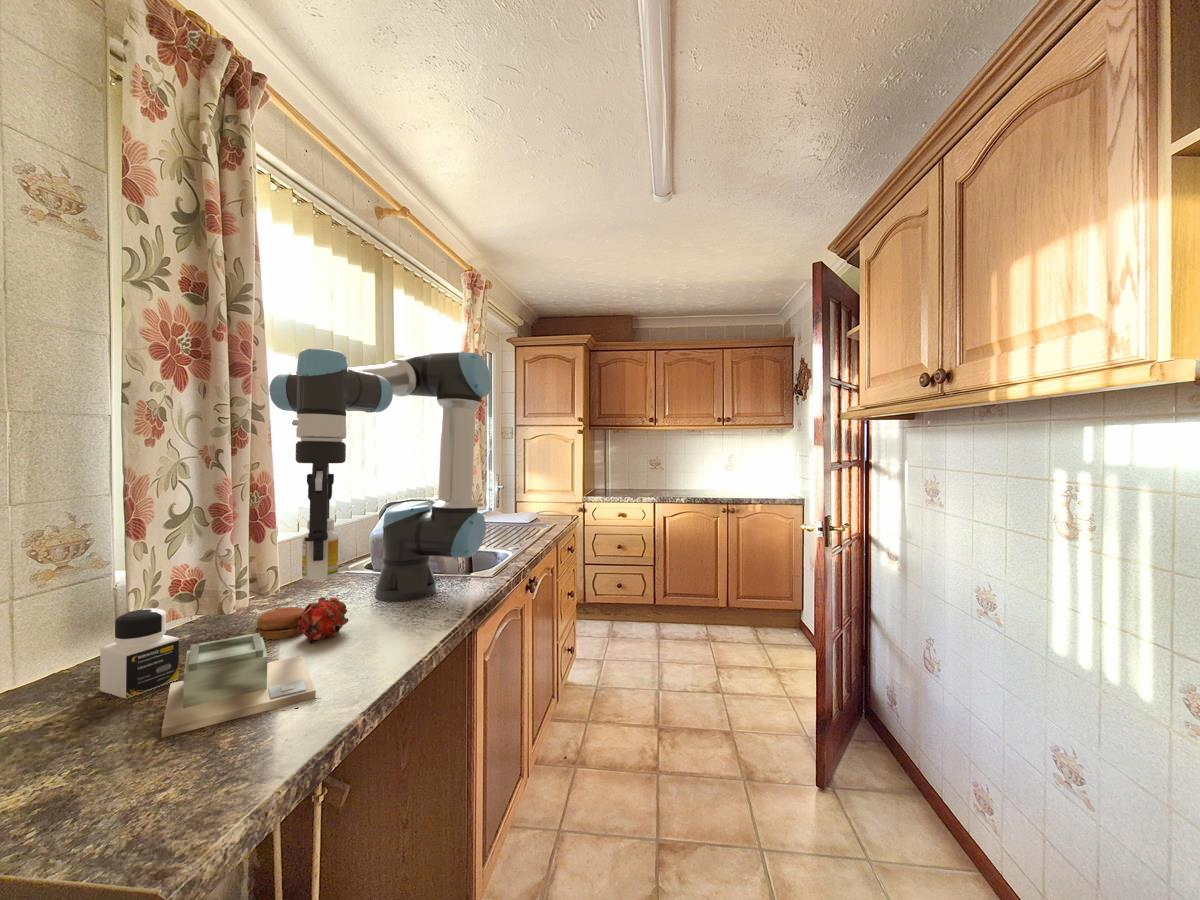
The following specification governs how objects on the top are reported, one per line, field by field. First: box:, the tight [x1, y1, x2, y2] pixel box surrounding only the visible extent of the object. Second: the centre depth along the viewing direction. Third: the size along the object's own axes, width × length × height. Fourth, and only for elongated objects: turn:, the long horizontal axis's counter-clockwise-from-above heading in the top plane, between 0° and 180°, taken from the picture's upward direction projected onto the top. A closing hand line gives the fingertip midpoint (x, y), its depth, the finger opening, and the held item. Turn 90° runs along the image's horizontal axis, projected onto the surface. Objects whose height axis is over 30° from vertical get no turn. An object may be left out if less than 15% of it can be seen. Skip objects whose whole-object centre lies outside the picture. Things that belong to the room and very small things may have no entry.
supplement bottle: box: [301, 518, 339, 581], centre depth 85 cm, size 5×5×10 cm
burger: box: [254, 606, 305, 640], centre depth 104 cm, size 10×9×5 cm
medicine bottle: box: [99, 607, 180, 700], centre depth 80 cm, size 7×7×12 cm
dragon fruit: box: [298, 596, 349, 644], centre depth 101 cm, size 8×8×12 cm
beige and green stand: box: [161, 633, 317, 739], centre depth 78 cm, size 18×16×7 cm
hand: (319, 574), depth 85 cm, fingers closed on supplement bottle, 5 cm apart
